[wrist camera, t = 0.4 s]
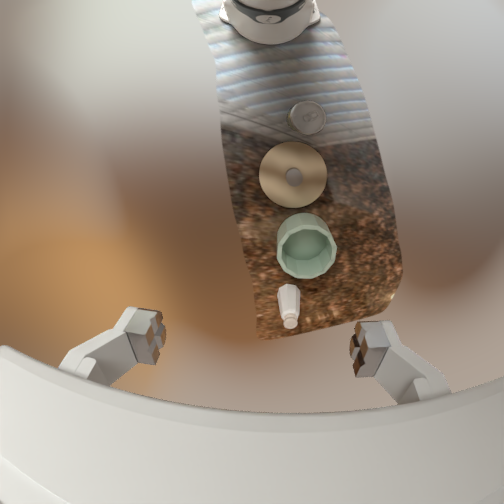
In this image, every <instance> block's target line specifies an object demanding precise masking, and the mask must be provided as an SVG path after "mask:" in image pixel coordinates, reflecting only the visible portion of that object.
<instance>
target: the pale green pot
mask: <svg viewBox="0 0 504 504" xmlns="http://www.w3.org/2000/svg"><path fill="white" fill-rule="evenodd" d="M336 250H337V246H336V244H335V242H334V239H333V237H332V235H331V233H330V231H329V228H328V226H327V224H326V222H324V221H323V220H322V219H321V218H320V217H318V216H317V215H314V214H311V213H297V214H294V215H292V216H290V217H288V218H287V219H286V220H285V221H284V222H283V223H282V224H281V226H280V228H279V230H278V232H277V260H278V262H279V263H280V265H281V267H282V269H283V270H284V271H285V272H286V273H288V274H290V275H292V276H294V277H295V278H305V279H312V278H314V277H317V276H319V275H321V274H324V273H325V272H326V271H327V270H328V269H329V268H330V266H331V265H332V264H333V263H334V262H335V256H336Z"/></svg>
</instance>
